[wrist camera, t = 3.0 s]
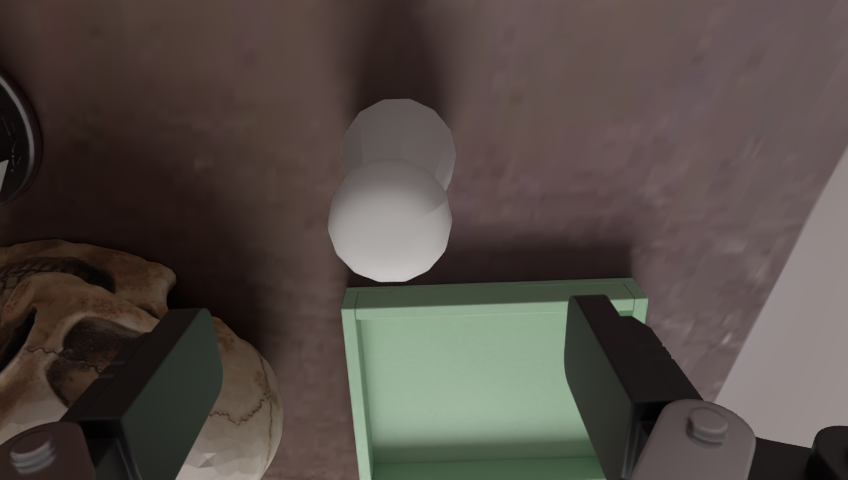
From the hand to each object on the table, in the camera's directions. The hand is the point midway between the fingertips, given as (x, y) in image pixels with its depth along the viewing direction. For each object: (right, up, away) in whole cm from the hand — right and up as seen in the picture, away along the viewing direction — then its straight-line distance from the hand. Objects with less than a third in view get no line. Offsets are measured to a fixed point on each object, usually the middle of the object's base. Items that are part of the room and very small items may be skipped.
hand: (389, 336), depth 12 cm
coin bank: (-17, -4, +22) cm, 29 cm away
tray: (+5, -7, +24) cm, 25 cm away
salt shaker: (-1, +7, +18) cm, 19 cm away
